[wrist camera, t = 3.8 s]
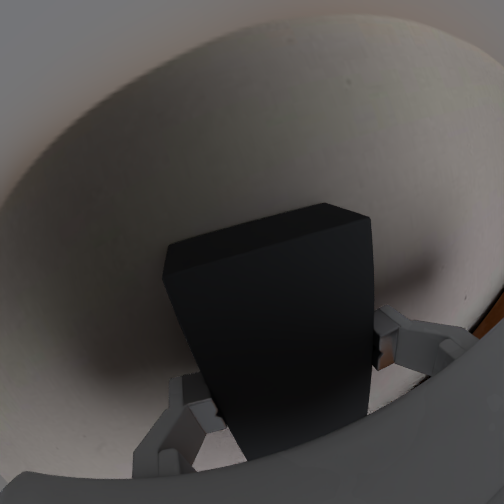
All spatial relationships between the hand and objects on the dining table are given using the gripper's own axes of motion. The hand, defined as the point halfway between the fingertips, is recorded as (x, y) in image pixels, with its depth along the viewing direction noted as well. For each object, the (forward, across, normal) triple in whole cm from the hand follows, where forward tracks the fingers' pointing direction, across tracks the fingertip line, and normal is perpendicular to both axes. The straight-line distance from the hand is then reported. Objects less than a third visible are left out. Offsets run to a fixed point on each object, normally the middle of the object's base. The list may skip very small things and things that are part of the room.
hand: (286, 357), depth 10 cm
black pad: (+2, 0, 0) cm, 2 cm away
